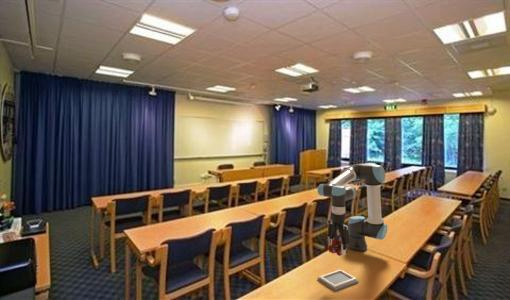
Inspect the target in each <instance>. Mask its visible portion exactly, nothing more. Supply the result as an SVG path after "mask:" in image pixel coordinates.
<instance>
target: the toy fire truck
mask: <svg viewBox="0 0 510 300" xmlns="http://www.w3.org/2000/svg"><path fill="white" fill-rule="evenodd" d="M344 242H345V241H344ZM341 244H342V240H341V236H340V234H338V235H335V236H334V240H333V242H332V245H331V244H330V245H329V247H328V252H329V253H331V254H336V255H337V256H338V257H342V255H341ZM348 250H349V249H348V247H346V254H347V253H348Z"/></svg>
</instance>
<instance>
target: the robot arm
mask: <svg viewBox="0 0 510 300" xmlns="http://www.w3.org/2000/svg"><path fill="white" fill-rule="evenodd" d="M357 180H358V181H363V183H364V185H365V186H366V196H367V199H366V200H367V216H368V217H367V218H366V217H365V216H361V215H356V216H355V215H353V216H351V217H349V218H348V225H346V224H345V221H346V202H347V201H349V200H352V199H354V198H355V197H356V194H357V193H356V190H355V188H354V187H353V186H346V185H348V184H349V183H350V182H353V181H354V182H355V181H357ZM385 181H386V171H385V169H384V166H382V165H381V164H380V165H378V164H373V163H372V164H370V163H356V164H352V165H350V166H349V167H346V168H345V169H344V170H343V172H342V173H340V174H339V175H337V176H336V177H335V178H333V179H332V180H331V181H328V182H327V183H321V184H319V185H318V186H317V194H318V195H319V196H321V197H323V198H325V197H326V198H331V219H330V220H327V223H328V226H327V235H326V236H327V237H329V244H330V245H332V242H333V240H334V237H335V236H336V233H337V230H338V233H339V235H340V236H341V240H342V244H341V257H342V256H345V255H347V253H346V247H348V250H351V251H355V252H365V251H367V250H368V244H367V241H366V237H368V238H371V239H374V240H380V241H382V240H384V239H385V238H386V236H387V233H388V224H387V223H385V221H384V218H382V202H381V201H382V200H381V199H382V198H381V186H382V185H383V183H384V182H385ZM344 241H345V242H344Z"/></svg>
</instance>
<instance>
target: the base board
mask: <svg viewBox="0 0 510 300" xmlns="http://www.w3.org/2000/svg"><path fill="white" fill-rule="evenodd" d="M317 280H318V282H319V281H320V283H322V284H324V285H325V286H327V287H328V288H330V289H331V290H333V291H335V292H337V291H340V290H342V289H344V288H345V289H346V288H348V287H351V286H353V285H355V284H359V280H358V279H357V278H356V277H355V276H353V275H351V274H350V273H348V272H346V271H344V270H342V269H337V270H335V271H332V272H329V273H326V274H321V275H320V276H318V277H317Z"/></svg>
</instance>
